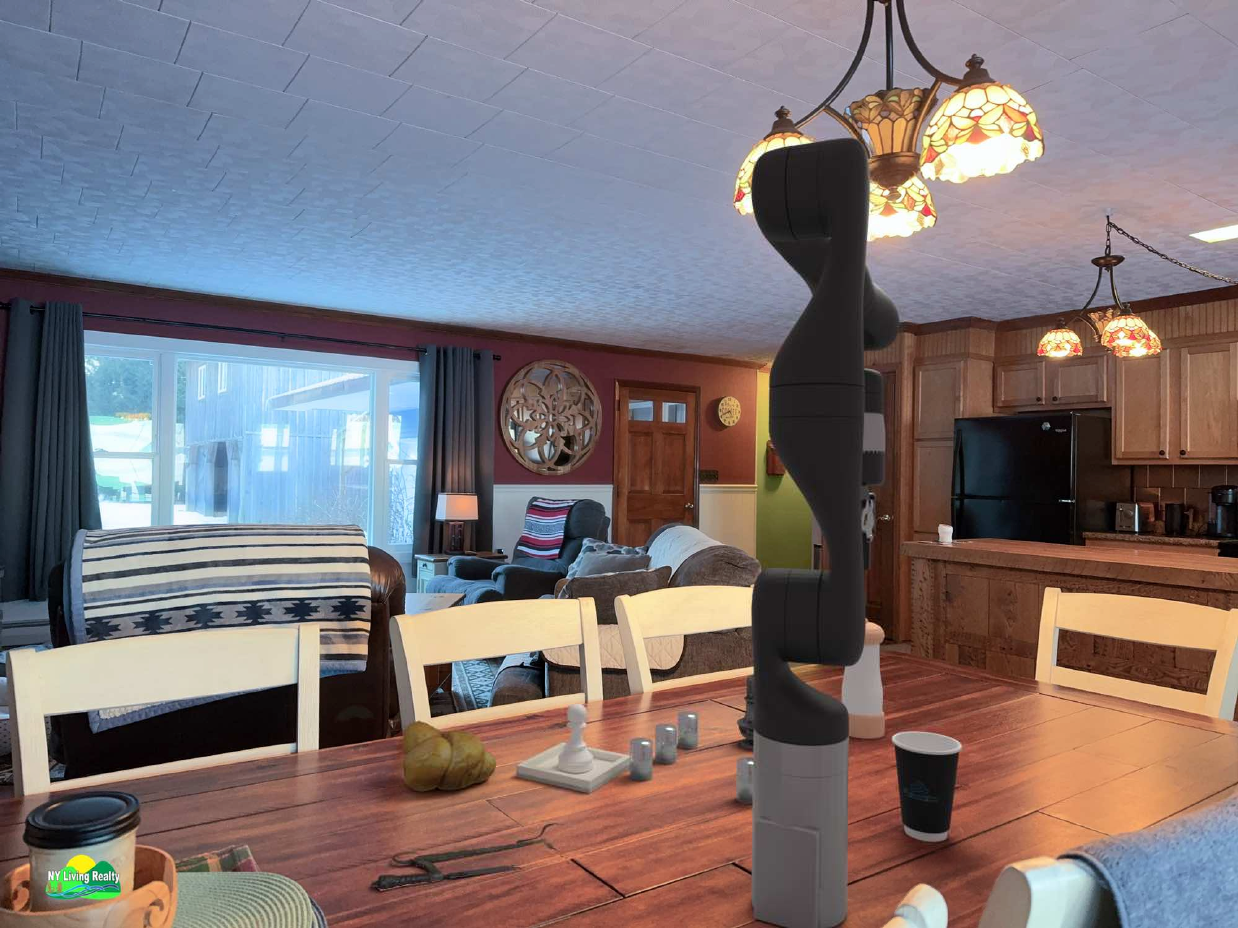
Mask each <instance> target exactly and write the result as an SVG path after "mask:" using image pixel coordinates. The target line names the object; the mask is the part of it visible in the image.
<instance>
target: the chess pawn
mask: <svg viewBox="0 0 1238 928" xmlns="http://www.w3.org/2000/svg"><path fill="white" fill-rule="evenodd" d="M587 716H588V711H587V708H586V707H585V706H584V705H583V704H580V703H574V704H572V705H569V707H568V708H567V711H566V717H567V719H568V720H569V721H568V722H567V724H566V727H567V728H569V729H570V735H569V736H570V737H569V740H568V742H565V743H566V747H567V748H566V749H565V750H564V751H563V752H562V753H560V754H559V756H558V758H559V761H558V767H559V769H560V770H562V771H564V772H569V773H583V772H587V771H590V770H591V769H592V768H593V761H592V760H593V755H592V754H591V753H590V752H589V751H588V750H587V749H586V748H585V747H587V743H586V742H585V741H584V738H583V737H584V736H583V729H584V728H586V727H587V723H586V722H585V721H586V718H587Z"/></svg>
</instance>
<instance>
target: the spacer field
mask: <svg viewBox="0 0 1238 928" xmlns="http://www.w3.org/2000/svg"><path fill="white" fill-rule="evenodd" d="M654 731H655V732H654V733H655V734H654V736H655V737H654V741H653V739H651V738H647V737H634V738H631V739H630V740H629V755H630V768H629V779H631V780H632V781H636V782H645V781H650V780H652V779H653V750H654V761H655V763H657V764H660V765H673V764H675V763H677V747H678V748H679V749H683V750H695V749H698V747H699V713H697V711H696V712H695V711H689V710H688V711H687V710H684V711H679V712H678V713H677V725H675V724H671V723H659V724H656V725H655V727H654ZM653 744H654V745H653ZM653 747H654V749H653ZM736 801H738V802H739V803H741V804H745V805H753V757H752V756H749V757H747V756H744V757H739V758H738V759H736Z"/></svg>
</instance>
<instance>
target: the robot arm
mask: <svg viewBox="0 0 1238 928" xmlns="http://www.w3.org/2000/svg"><path fill="white" fill-rule="evenodd" d="M870 173H871V170H870V163H869V156H868V154H867V151H866V147H865V146H864V144H863V143H862V141H860V140H859V139H858V138H855V137H841V138H839V137H838V138H833V139H832V138H831V139H825V140H821V141H814V142H809V143H808V142H807V143H801V144H796V145H795V144H794V145H788V146H787V145H786V146H781V147H779V148H774V149H771V150H769V151H765V152H764V153H762V154H761V155H760V156H759V157H758V158H757V160H756V162H755V164H754V167H753V171H752V175H751V186H750V187H751V188H750V192H751V194H750V196H751V204H752V205H751V206H752V209H753V214H754V218H755V221H756V223H757V226H758V228H759V230H760V231H761V234H762V236H764V239H766V241H767V242H768V243H769V244H770V245H771V247H773V249H774V250H775V251H776V252H777V253H778V254H779V255H780V256H781V257H782V258H783V260H784V261H785V262H787V264H788V265H789V266H790V267H791V268H792V269H793V270H794V271H795V272H796V274H798V275H799V276H800V277H801V279H802V280H803V281H804V283H806V285H807V287H808V289H809V290H810V293H811V295H812V297H810V300H809V302H808V304H807V306H806V307H805V308H804V310H803V312H802V313H801V315H800V316H799V318H798V319H797V321H796V322H795V324H794V325H793V327H792V329H791V330H790V332H789V333H788V335H787V336H786V338H785V339H784V341H783V342H782V344H781V346H780V348H779V350H778V351H777V353H776V356H775V357H774V360H773V362H772V365H771V368H770V371H769V378H768V379H769V380H768V388H769V389H768V434H769V439H770V441H771V444H772V445H771V446H772V447H773V449H774V451H775V453H776V455H777V457H778V459H779V460H780V462H781V464H782V465H783V467H784V469H785V470H786V472H787V473H788V475H789V476H790V478H791V480H792V481H793V482H794V484H795V485H796V487H797V488H798V489H799V491H800V493H801V494H802V496H803V498H804V499H805V501H806V503H807V504H808V506H809V508H810V510H811V512H812V514H813V516H814V518H815V520H816V522H817V523H818V527H819V528H820V531H821V533H822V537H823V538H824V541H825V545H826V550H827V553H828V558H829V565H830V569H828V570H827V569H824V570H823V569H808V568H806V569H805V568H787V567H768V568H765V569H762V570H761V571H760V572H759V574H758V575H757V577H756V578H755V580H754V584H753V587H752V593H751V604H750V605H751V608H750V610H751V613H750V615H751V639H752V640H751V641H752V642H751V643H752V662H753V667H752V668H753V674H754V750H752V751H753V757H752V758H753V804H752V823H751V824H752V825H751V826H752V828H751V834H752V835H751V838H752V839H751V846H752V847H751V904H752V907H753V919H756V920H760V921H762V922H767V923H770V924H774V925H777V926H781V927H784V928H833V927H836V926H838V925H840V924H841V923H842V922H844V921H845V919H846V917H847V916H848V915H847V914H848V849H849V848H848V845H849V844H848V843H849V842H848V839H849V838H848V837H849V830H848V829H849V823H848V822H849V762H850V760H849V757H850V756H849V754H850V753H849V752H850V748H849V747H850V745H849V744H850V736H849V714H848V711H847V708H846V707H845V705H844V704H843V703H842V701H840V700H839V699H837V698H836V697H834V696H832V695H829V694H827V693H825V692H823V691H821V690H819V689H817V688H814V687H813V686H811V685H810V684H808V683H806V682H805V681H804V680H803V679H801V678H799V677H798V675H796V674H795V673H794V672H793V671H792V669H791V667H790V665H789V663H795V664H807V665H817V666H820V665H822V666H831V667H844V668H845V666H852V665H854V664H856V663H857V662H858V661H859V659H860V657H861V655H862V652H863V648H864V641H865V630H866V619H867V618H866V617H867V616H866V612H867V611H866V590H865V589H866V588H865V571H868V570H869V569H871V549H872V548H871V546H872V545H871V544H872V543H871V542H873V539H874V537H875V536H876V534H877V530H876V498H877V495H876V493H875V492H870V488H869V487H870V486H883V485H884V484H885V482H886V480H885V479H886V427H885V420H884V396H885V395H884V394H885V393H884V392H885V391H884V389H885V387H884V385H885V384H884V376H883V375H882V373H881V372H879V371H878V370H875V369H870V368H865V352H872V351H873V352H875V351H876V352H878V351H881V350H885V349H887V348H889V346H891V345H892V344H893V343H894V342H895V341H896V339H897V338H898V335H899V331H900V315H899V313H898V312H899V311H898V310H897V307H896V305H895V303H894V301H893V299H892V298H891V297H890V296H889V295H888V294H887V293H886V292H885V291H884V290H883V289H882V288H881V287H880V286H878V285H877V284H875V282H873V279H872V276H871V272H870V269H869V266H868V265H867V263H866V260H867V245H868V232H869V218H870V200H871V174H870Z"/></svg>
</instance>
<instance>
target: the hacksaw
mask: <svg viewBox="0 0 1238 928" xmlns="http://www.w3.org/2000/svg"><path fill="white" fill-rule="evenodd" d="M554 824H556V825H558V823H555V822H552V823H547V824H546V825H544V826H543V827H542V830H541V832H540V834H539V835H538V836H535V837H533V838H526V839H519V840H517V841H516V842H515V843H508V844H505V845H498V846H497V845H495V846H489V847H479V848H472V849H464V850H458V851H448V852H444V853H438V852H437V853H431V854H429V853H428V854H422V855H421V854H419V853H417V852H410V851H409V852H408V851H407V852H400V853H396V854H394V855H392V857H391V860H392V861H393V862H394V863H396V864H398V865H400V864H401V865H410V866H412V865H414V866H416V865H417V868H421V867H422V869H425V870H426V871H427V873H426V872H422V873H414V874H402V875H400V874H399V875H396V874H382V875H381V874H380V875H379V876H378V878H377V880H375V881H374V880H372V882H371V883H370V886H371V887H373V888H377V889H378V888H380V889H388V888H393V887H396V886H402V885H406V884H415V883H421V882H432V881H437V880H442V879H443V878H448V879H455V878H456V879H458V878H457V877H460V878H465V877H471V876H478V875H487V874H494V873H500V872H508V871H509V872H510V871H515V870H522V869H525V867H522V868H521V866H518V867H514V866H516V865H515V864H511V867H510V866H508V865H503V866H501V865H500V866H495V867H487V868H479V869H473V870H464V871H457V872H456V871H455V872H448V873H447V874H443V873H442V872H440V870H441V869H443V868H444V867H443V866H441V867H440V868H439V869H438V868H437V866H436V865H435V864H434V862H444V861H443V860H445V861H450V859H452V860H457V858H458V859H464V858H468V857H469V856H470V857H474V855H476V856H481V855H486V854H487V853H488V854H492V853H500V852H503V851H509V850H514V849H519V848H523V847H527V846H533V845H536V844H541V843H543V844H544V845H545V847H547V848H548V849H550V850H552V849H554V850H557V849H556V848H555V847H554V846H553V845H552V844H551V843H550V842H549V841H548V840H547V839H546V838H545V837H544V838H541V837H542V835H543V834H544V832H545V831H546V829H547V828H548V827H550V826H554ZM560 825H564V823H560ZM570 828H573V827H572V826H570ZM572 830H573V829H572ZM546 840H547V841H546ZM546 842H549V843H546ZM553 847H554V848H553ZM554 850H553V851H554ZM556 852H557V853H559V851H558V850H557V851H556ZM404 854H413V855H417V856H416V857H414V858H409V859H407V860H406V859H405V860H398V859H396V856H399V855H404ZM559 855H560V857H561V858H564V855H562V854H561V853H560V854H559ZM561 855H562V856H561ZM463 857H464V858H463ZM565 859H566V860H567V859H568V857H565ZM517 868H518V869H517ZM428 871H429V872H428ZM443 880H444V879H443ZM432 883H433V882H432ZM376 886H378V887H376Z"/></svg>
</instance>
